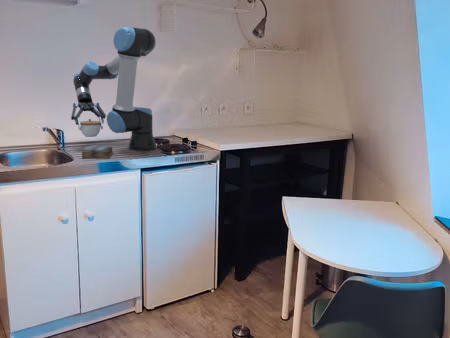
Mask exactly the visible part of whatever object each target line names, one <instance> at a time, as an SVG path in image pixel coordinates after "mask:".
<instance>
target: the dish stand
mask: <svg viewBox="0 0 450 338" xmlns="http://www.w3.org/2000/svg"><path fill="white" fill-rule="evenodd" d="M112 155H113V146H109V145H106V144H103V145H102V144H97V145H95V144H94V145H88V146H84V148H83V150H82V151H81V156H82V157H81V159H110V158H111V156H112Z"/></svg>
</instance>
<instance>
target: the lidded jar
mask: <svg viewBox="0 0 450 338" xmlns="http://www.w3.org/2000/svg"><path fill="white" fill-rule="evenodd" d="M80 124H81V130H80V132H81V134H82V136H84V137H85V138H93V137H97V136H98V135H99V134H100V132H101V126H100V121H99V120H92V119H91V118H89V119H88V120H85V121H84V120H83V121H80Z"/></svg>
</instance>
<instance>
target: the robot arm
mask: <svg viewBox="0 0 450 338" xmlns="http://www.w3.org/2000/svg"><path fill="white" fill-rule="evenodd" d="M113 45H114V48H115V49H116V50H117V56H116V57H114V58H113V59H112V60H110V61H109V62H108V63H107V64H105V65H98V64H97V63H96V62H95V61H91V60H88V61H87V62H86V63H85V64H84V65H83V67H82V69H81V70H80V72H77V73H76V74H74V75H73V77H74V79H73V85H74V89H75V94H76V99H77V103H74V102H73V104H72V112H71V116H70V117H71V118H70V119H71V121H74V122H75V125H76V126H77V125H78V130H79V131H80V132H81V124H80V122H81V120H80V116H81V114H82V113H83V112H91V113H93V114H94V115H95V116H96V117H97V118H98V121H100V130H104V119H106V123H107V125H108V127H109V130H111V131H112V132H113V133H115V134H124V133H129V132H131V136H130V140H129V142H128V149H129V150H132V151H150V150H151V151H152V150H155V149H156V148H157V143H156V140H155V138H154V134H153V111H152V109H151V108H150V107H140V106H133V105H134V97H135V96H134V95H135V88H136V87H135V86H136V77H137V68H138V67H137V66H138V60H139V59H140V58H141V57H146V56H147V55H149V54H150V53H151V52H153V50H155V47H156V37H155V35H154V33H153V32H152V31H150V30H149V29H147V28H142V27H141V28H139V27H133V26H122V27H119V28H118V29H117V30H116V31H115V33H114V35H113ZM78 77H79V78H78ZM79 79H80V80H79ZM114 79H117V88H116V89H117V90H116V99H115V104H114V103H113V105H112V109H111V111H109V112H108V113H107V114H106V113H105V112H104V110H103V109H102V107H101V105H100V103H99V102H96V103H94V102H93V98H92V94H91V90H90V85H91V83H92V82H93V80H114ZM77 108H79V110H78V112H77V113H76V110H77Z"/></svg>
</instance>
